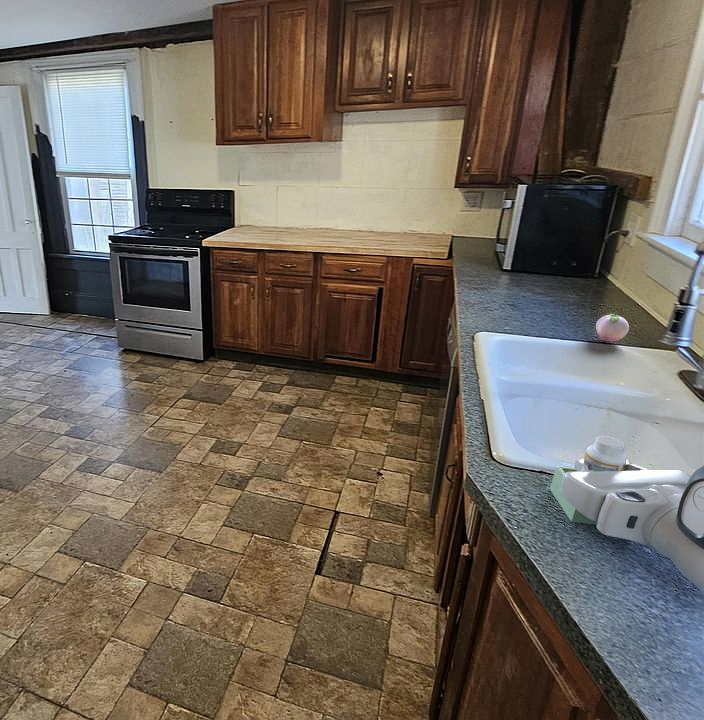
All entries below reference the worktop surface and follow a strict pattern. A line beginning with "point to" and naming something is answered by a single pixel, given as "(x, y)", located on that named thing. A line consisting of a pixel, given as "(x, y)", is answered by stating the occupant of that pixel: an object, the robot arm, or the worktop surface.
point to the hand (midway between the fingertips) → (599, 463)
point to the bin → (567, 507)
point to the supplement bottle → (606, 454)
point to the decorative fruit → (612, 327)
